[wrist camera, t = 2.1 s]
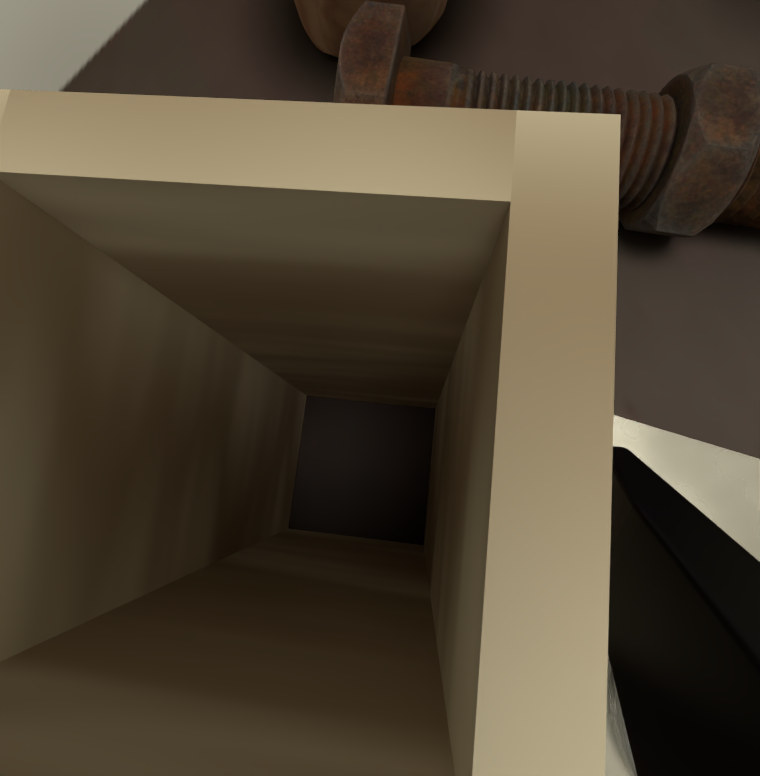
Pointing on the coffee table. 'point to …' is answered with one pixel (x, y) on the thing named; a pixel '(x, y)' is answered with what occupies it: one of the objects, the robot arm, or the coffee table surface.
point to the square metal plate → (707, 493)
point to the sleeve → (283, 435)
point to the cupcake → (340, 3)
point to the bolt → (638, 113)
